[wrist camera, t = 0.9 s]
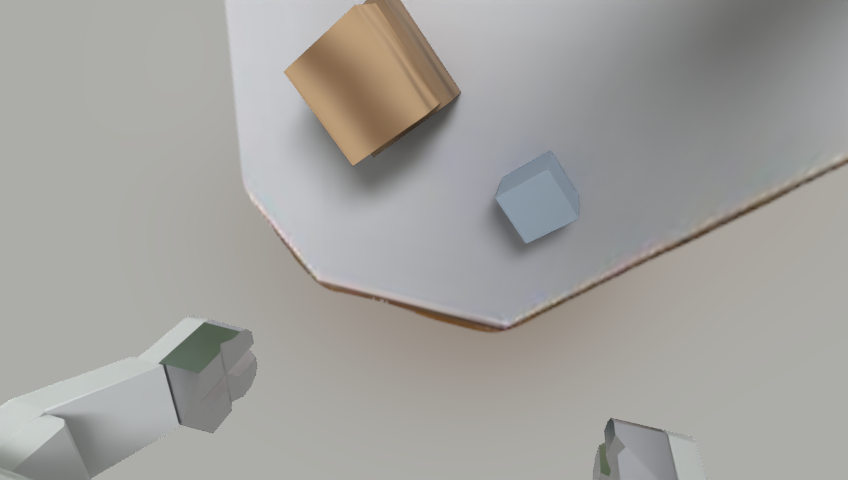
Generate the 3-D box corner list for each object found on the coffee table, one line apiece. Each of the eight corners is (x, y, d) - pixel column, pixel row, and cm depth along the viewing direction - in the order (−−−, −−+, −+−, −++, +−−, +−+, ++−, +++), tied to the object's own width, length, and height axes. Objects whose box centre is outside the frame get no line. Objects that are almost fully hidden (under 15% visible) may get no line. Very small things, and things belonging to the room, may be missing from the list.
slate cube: (550, 149, 41) (547, 168, 37) (579, 195, 43) (579, 218, 38) (502, 177, 44) (494, 198, 40) (530, 219, 45) (526, 244, 41)
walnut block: (394, -11, 39) (377, -10, 36) (462, 91, 41) (451, 100, 38) (324, 55, 44) (302, 61, 40) (388, 144, 46) (373, 157, 42)
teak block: (375, 3, 36) (354, 5, 33) (440, 102, 38) (427, 114, 35) (308, 64, 40) (283, 71, 37) (370, 151, 42) (352, 166, 39)
